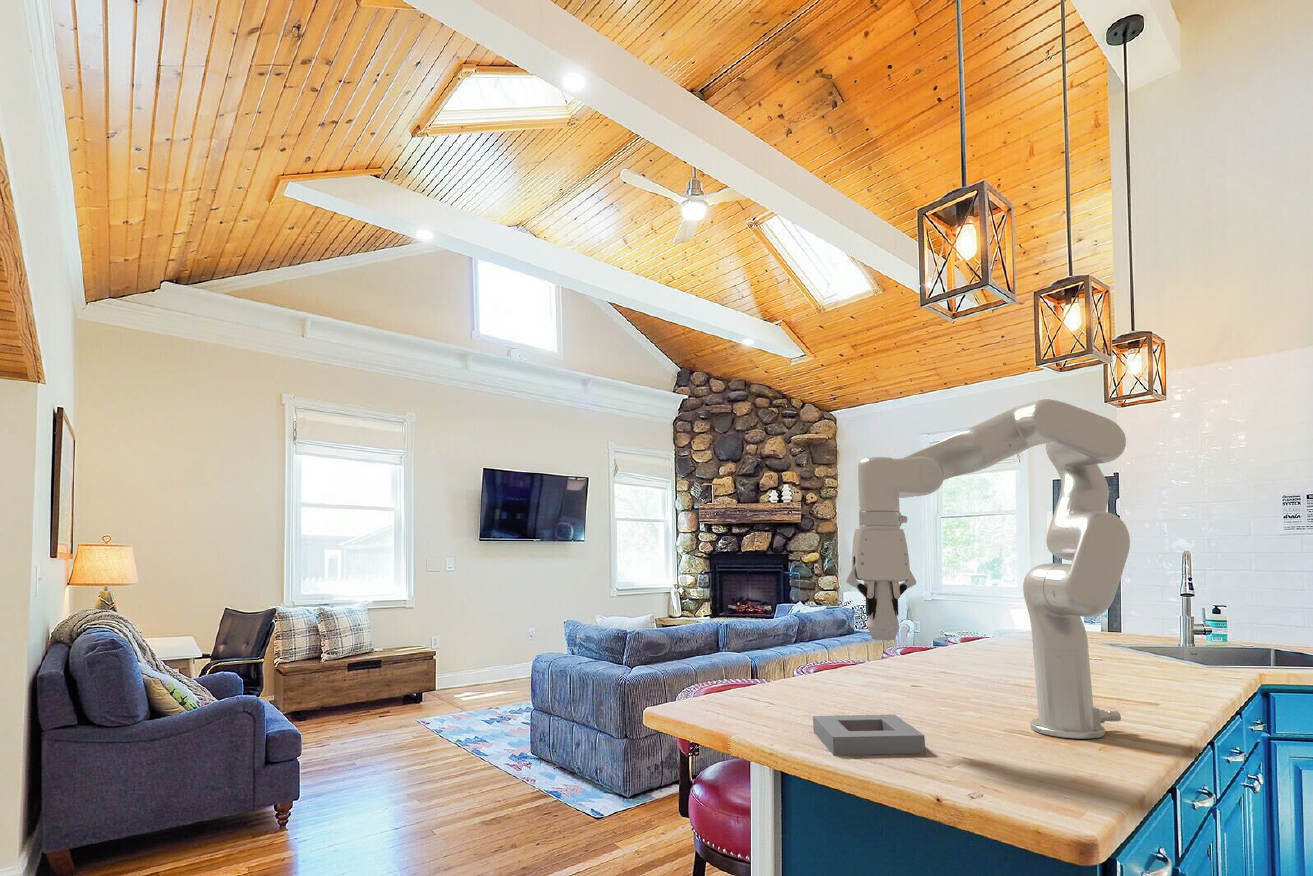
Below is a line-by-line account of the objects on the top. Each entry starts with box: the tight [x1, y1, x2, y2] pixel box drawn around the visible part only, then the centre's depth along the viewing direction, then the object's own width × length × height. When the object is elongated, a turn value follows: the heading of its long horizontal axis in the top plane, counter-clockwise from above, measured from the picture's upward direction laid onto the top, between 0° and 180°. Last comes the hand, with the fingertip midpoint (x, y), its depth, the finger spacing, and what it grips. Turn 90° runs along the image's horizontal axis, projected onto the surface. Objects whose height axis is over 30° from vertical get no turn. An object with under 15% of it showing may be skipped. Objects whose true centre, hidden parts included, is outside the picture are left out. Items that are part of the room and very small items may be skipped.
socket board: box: [812, 714, 926, 756], centre depth 139 cm, size 16×16×3 cm
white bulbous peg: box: [866, 580, 900, 641], centre depth 143 cm, size 6×6×13 cm
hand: (882, 618), depth 142 cm, fingers closed on white bulbous peg, 3 cm apart
